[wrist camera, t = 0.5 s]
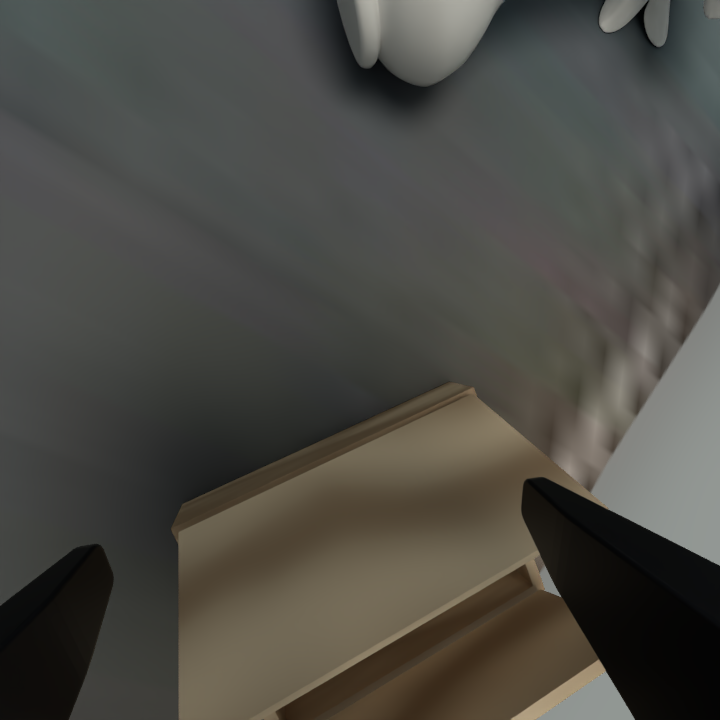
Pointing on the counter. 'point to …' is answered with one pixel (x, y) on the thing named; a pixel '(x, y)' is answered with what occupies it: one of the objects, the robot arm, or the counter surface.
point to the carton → (354, 683)
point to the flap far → (492, 670)
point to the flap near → (350, 558)
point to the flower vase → (459, 31)
